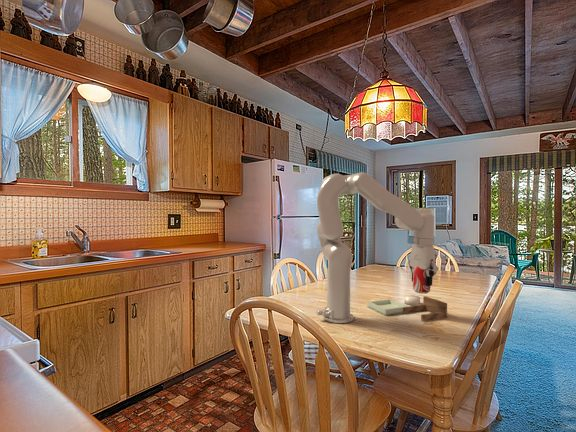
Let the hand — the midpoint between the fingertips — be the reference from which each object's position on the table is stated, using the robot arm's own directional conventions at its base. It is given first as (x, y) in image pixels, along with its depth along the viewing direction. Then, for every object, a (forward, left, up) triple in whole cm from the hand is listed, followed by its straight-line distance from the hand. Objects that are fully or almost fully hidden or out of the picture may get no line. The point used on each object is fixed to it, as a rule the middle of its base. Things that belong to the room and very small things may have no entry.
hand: (421, 283), depth 141 cm
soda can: (0, 0, -4) cm, 4 cm away
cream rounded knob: (+9, +15, -14) cm, 22 cm away
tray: (-8, +12, -14) cm, 20 cm away
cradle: (+1, 0, -14) cm, 14 cm away
